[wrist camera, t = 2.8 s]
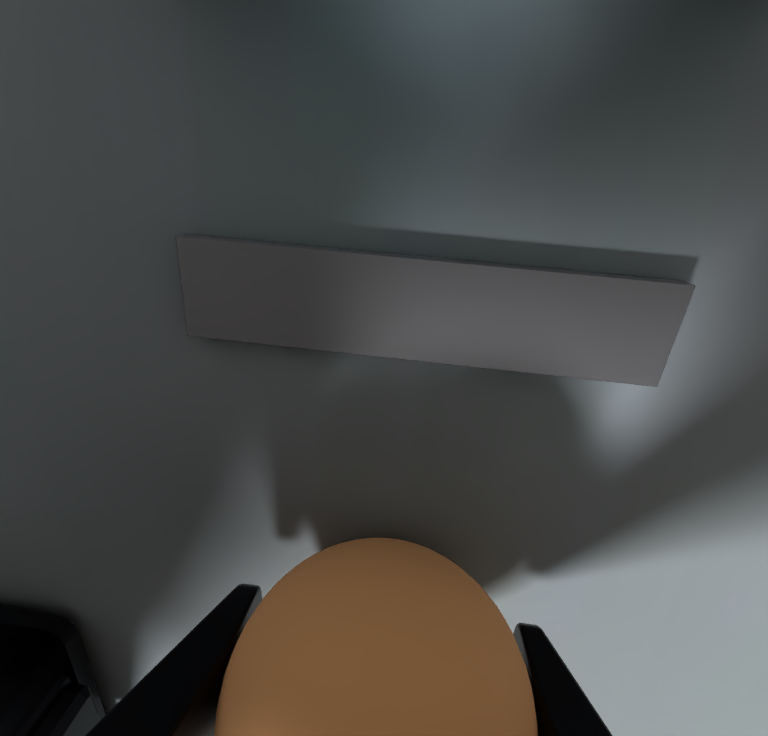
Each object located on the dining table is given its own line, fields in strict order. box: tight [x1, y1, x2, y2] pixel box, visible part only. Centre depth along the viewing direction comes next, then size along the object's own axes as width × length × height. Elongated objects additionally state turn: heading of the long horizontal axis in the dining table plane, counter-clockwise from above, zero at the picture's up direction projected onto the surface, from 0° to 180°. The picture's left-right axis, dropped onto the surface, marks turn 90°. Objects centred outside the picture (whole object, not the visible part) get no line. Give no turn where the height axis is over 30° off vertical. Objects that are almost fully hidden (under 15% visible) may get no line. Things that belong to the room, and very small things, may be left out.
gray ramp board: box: [176, 234, 695, 387], centre depth 7 cm, size 8×2×1 cm, turn 86°
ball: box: [214, 538, 538, 736], centre depth 7 cm, size 5×5×5 cm
